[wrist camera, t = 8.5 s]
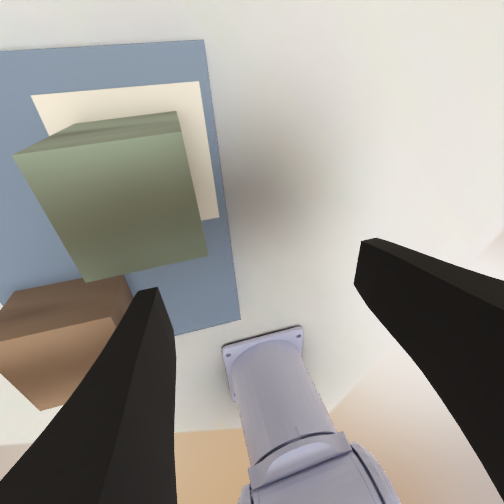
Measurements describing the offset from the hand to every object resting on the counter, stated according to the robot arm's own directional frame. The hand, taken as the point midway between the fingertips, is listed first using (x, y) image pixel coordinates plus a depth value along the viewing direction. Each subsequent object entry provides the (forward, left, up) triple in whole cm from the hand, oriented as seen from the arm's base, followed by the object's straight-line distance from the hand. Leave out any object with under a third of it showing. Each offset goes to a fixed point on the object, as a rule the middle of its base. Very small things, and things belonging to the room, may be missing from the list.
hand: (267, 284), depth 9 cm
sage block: (+3, +4, -8) cm, 9 cm away
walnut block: (-6, +10, -8) cm, 14 cm away
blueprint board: (-1, +7, -9) cm, 12 cm away
